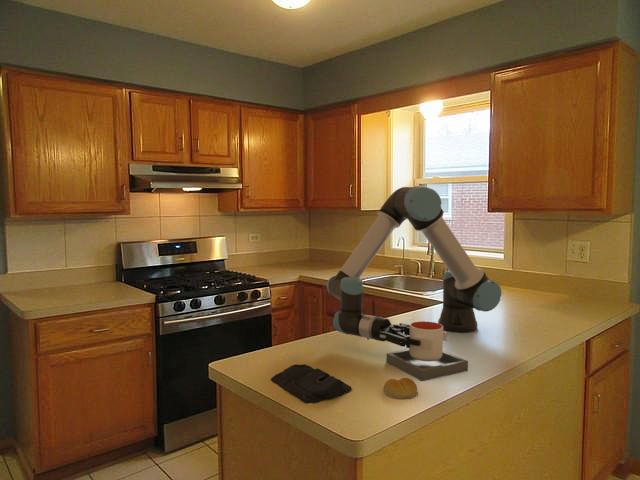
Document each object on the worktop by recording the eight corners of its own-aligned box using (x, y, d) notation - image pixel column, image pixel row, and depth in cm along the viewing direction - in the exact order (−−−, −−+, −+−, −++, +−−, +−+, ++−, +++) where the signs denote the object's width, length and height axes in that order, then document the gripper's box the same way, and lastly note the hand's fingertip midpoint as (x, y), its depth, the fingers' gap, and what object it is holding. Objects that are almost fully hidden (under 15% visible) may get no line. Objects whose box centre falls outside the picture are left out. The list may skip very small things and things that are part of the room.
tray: (429, 353, 158) (429, 345, 158) (467, 370, 143) (468, 361, 142) (386, 362, 150) (386, 353, 150) (421, 381, 135) (422, 370, 135)
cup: (449, 360, 143) (450, 328, 143) (421, 364, 140) (421, 331, 139) (429, 350, 153) (430, 320, 152) (403, 354, 149) (403, 323, 148)
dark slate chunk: (310, 369, 146) (310, 354, 145) (356, 393, 128) (356, 376, 127) (266, 381, 137) (266, 364, 136) (309, 408, 119) (309, 390, 118)
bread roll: (380, 388, 130) (380, 374, 130) (411, 387, 131) (412, 373, 131) (387, 401, 122) (388, 386, 122) (421, 399, 123) (421, 384, 123)
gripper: (392, 331, 166) (453, 343, 152) (356, 347, 148) (422, 362, 135) (392, 310, 165) (454, 320, 152) (356, 324, 148) (422, 337, 134)
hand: (439, 340), depth 143 cm, fingers closed on cup, 10 cm apart
